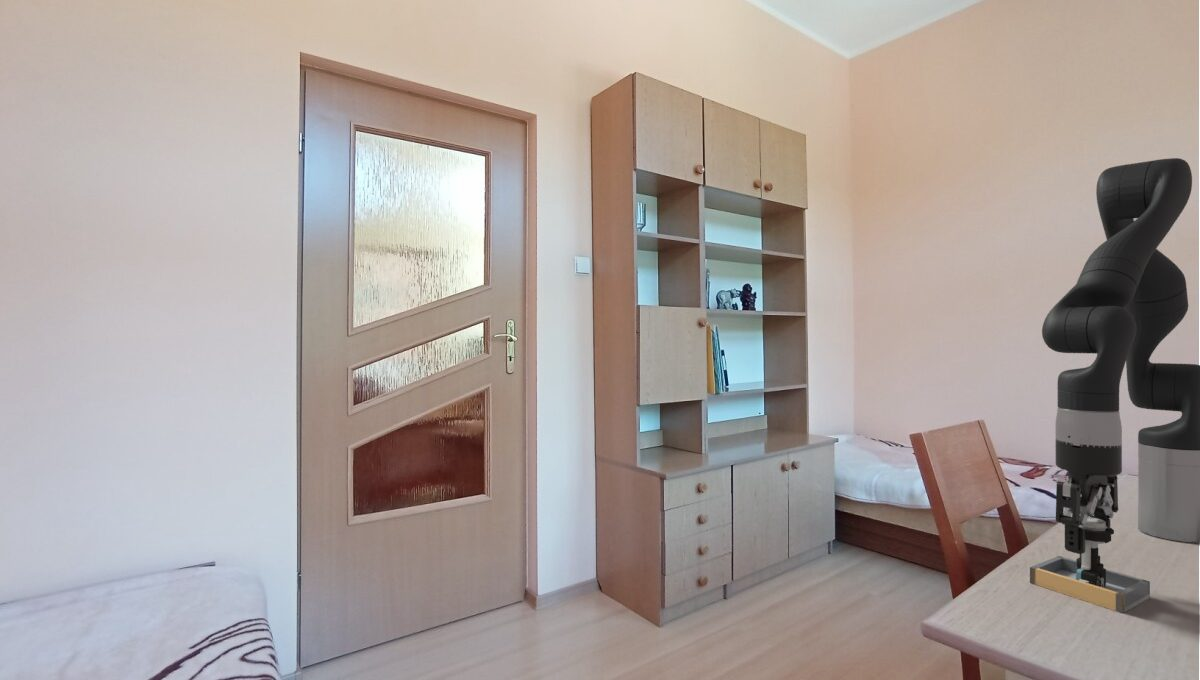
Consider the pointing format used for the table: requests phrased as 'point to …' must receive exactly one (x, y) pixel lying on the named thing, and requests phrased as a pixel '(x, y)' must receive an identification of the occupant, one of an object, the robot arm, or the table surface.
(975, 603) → the table surface
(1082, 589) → the tray
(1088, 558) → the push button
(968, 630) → the table surface
